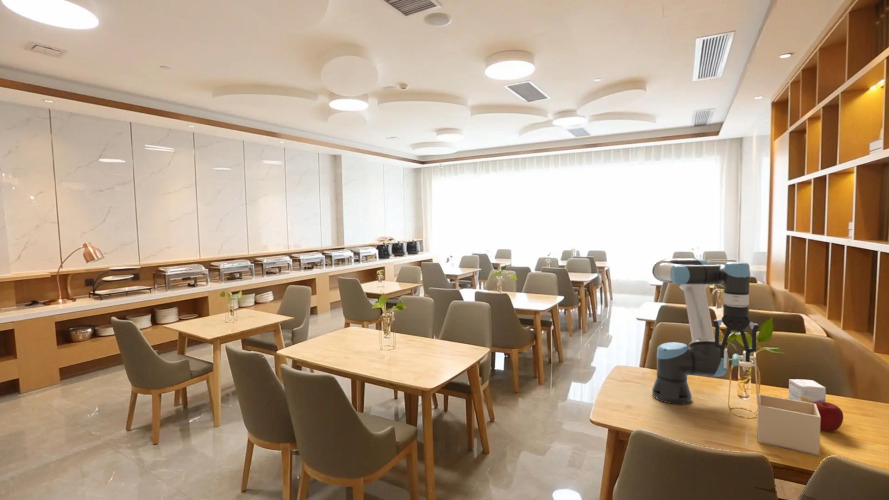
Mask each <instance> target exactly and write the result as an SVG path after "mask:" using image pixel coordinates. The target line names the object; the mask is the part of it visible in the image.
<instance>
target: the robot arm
mask: <svg viewBox="0 0 889 500" xmlns="http://www.w3.org/2000/svg"><path fill="white" fill-rule="evenodd" d="M750 267H751V266H750V264H749V263H748V262H744V261H727V262H726V263H716V264H709V263H708V262H707V260H705V259H703V258H695V257H693V258H665V259H661V260H659V261H657V262H656V263H655V264H654V265H653V267H652V270H651V271H652V276H653V277H654V278H655V279H656V280H658V282H659V281H660V282H662V283H667V284H674V285H678V286H679V289H681V290H682V291H683V294H684V295H683V296H684V300H685V307H686V313H687V318H688V325H689V329H690V334H691V335H690V336H691V341H690V342H689V343H688V345H687V344H686V343H683V342H675V341H673V342H664V343H661V344H660V345H658V346H657V349H656V351H657V352H656V379H655V382H654V384H653V386H652V388H651V391H652V393H651V395H652V394H653V395H654V396H655V397H657V398H658V399H660V400H663V401H666V402H665V403H667V402H670V403H669V404H672V403H675V404H674V405H686V404H690V403H691V402H692V401H693V400H692V393H691V389H690V387H689V384H688V376H701V377H704V376H705V377H711V378H713V377H723V376H725V374H726V373H727V371H728V369H729V363H730V362H729V360H728V359H729V354H728V348H725V347H726V345H727V343H728V340H729V337H730V334H731V332H733V331H736V332H739V333H740V336H741V339H742V344H743V346H744V350H743V352H742V356H743V359H742V362H746V363H750V356H751V353H754V352H757V331H758V329H759V324H758V323H754V322H752V321H751V320H750V319H749V315H750V307H749V305H750V278H751V269H750ZM709 285H714V286H715V285H716V286H717V285H723V303H724V305H723V308H722V309H723V313H722V314H723V316H722V317H721V318H720V319H714V320H713V323H712V318H711V313H710V308H709V303H708V296H707V291H706V288H708V286H709ZM713 324H714V327H715V328H713ZM722 324H723V325H724V326H725V328H726V330H725V333H724V336H723V339H722V340H721V343H720V328H721V327H720V326H722ZM747 327H750V329H751V347H749V342H748V339H747V335H746V330H745V329H746V328H747ZM742 371H743V372H746V366H743V365H742ZM653 395H652V396H653ZM655 397H654V398H655ZM658 399H657V400H658ZM660 400H659V401H660ZM663 401H662V402H663Z"/></svg>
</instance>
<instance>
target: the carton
mask: <svg viewBox="0 0 889 500" xmlns="http://www.w3.org/2000/svg"><path fill="white" fill-rule="evenodd" d="M758 401H759V405H758V404H757V420H756V421H757V423H756V424H757V426H756V427H757V428H756V429H757V443H758V444H759V443H760V444H763V445H768V446H772V447H776V448H781V449H786V450H790V451H794V452H798V451H799V452H798V453H802V452H803V453H802V454H807V455H811V456H812V455H813V456H816V457H820V447H821V444H820V443H821V442H820V441H821V430H820V420H821V417H820V414H819V411H818V408H817V406H816V404H814V403H808V402H802V401H796V400H791V399H789V398H783V397H778V396H771V395H767V394H762V393H761V394H760V393H758Z"/></svg>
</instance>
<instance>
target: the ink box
mask: <svg viewBox="0 0 889 500" xmlns="http://www.w3.org/2000/svg"><path fill="white" fill-rule="evenodd" d="M826 391H827V388H826V386H823V385H821V384H820V383H818V382H817V381H815V380H811V379H799V378H798V379H797V378H796V379H788V399H791V400H796V401H802V402H808V403H812V402H815V401H823V402H826V393H827V392H826Z"/></svg>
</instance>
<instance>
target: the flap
mask: <svg viewBox="0 0 889 500" xmlns="http://www.w3.org/2000/svg"><path fill="white" fill-rule="evenodd" d="M756 352H757V351H756ZM756 352H753V356H751V355H750V360H752V361H753V362H747V361H746V362H743V361H740V359H741V360H743V355H739V354H738V353H734V354H733V355H732V359H731V365H732V366H733V367H738V366H742V367H743V366H745V367H754V374H755V391H756V393H755V394H756V404H757V406H758V405H759V401H758V394H759V384H758V373H757V371H758V370H757V369H758V368H757V356H756Z"/></svg>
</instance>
